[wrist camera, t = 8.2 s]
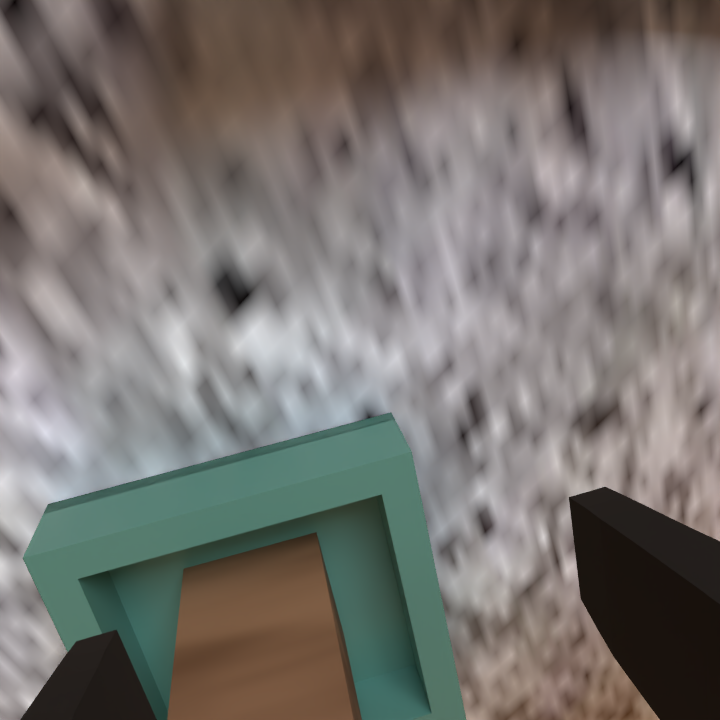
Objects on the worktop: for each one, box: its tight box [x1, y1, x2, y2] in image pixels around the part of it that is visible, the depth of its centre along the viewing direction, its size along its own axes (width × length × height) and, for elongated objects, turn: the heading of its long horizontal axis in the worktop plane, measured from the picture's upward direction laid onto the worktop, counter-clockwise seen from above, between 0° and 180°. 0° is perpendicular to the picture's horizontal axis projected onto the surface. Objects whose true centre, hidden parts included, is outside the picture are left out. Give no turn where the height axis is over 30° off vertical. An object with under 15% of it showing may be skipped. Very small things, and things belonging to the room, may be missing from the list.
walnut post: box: [167, 532, 362, 720], centre depth 18 cm, size 4×4×7 cm
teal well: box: [23, 413, 466, 720], centre depth 20 cm, size 10×10×2 cm
